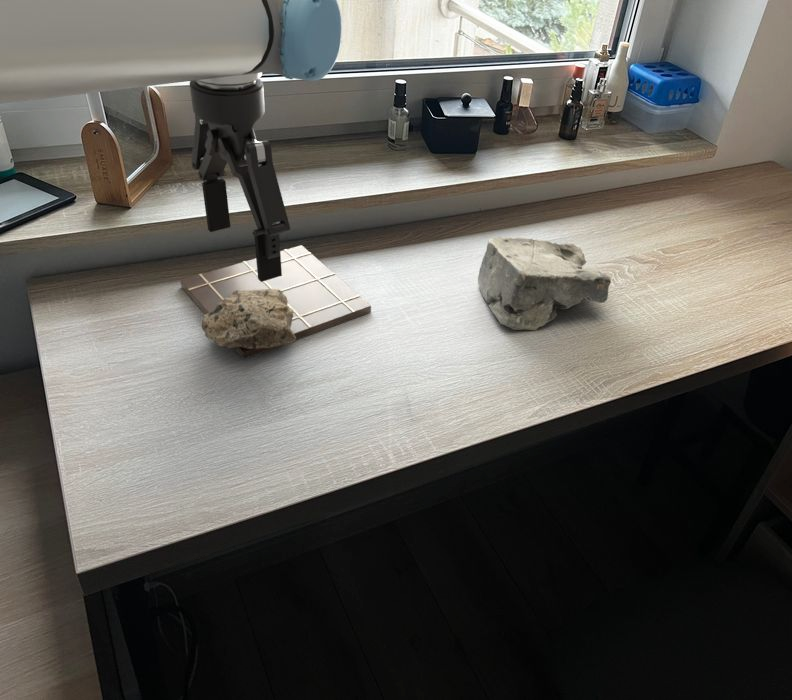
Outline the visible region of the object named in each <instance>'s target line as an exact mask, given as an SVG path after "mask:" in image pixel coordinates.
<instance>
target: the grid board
mask: <svg viewBox="0 0 792 700" xmlns="http://www.w3.org/2000/svg"><path fill="white" fill-rule="evenodd" d="M280 254H281V270H282V276H279V277H276V278H273V279H269V280H266V281H263V282H261V281H260V280H259V279H258V273H257V262H256V258H251V259H249V260H243V261H242V262H238V263H234V264H232V265H229V266H225V267H222V268H217V269H214V270H211V271H207V272H203V273H199V274H197V275H193V276H191V277H187V278H183V279H180V281H179V282H180V287H181V288H182V289H183V291H184V292H185V293H186V294H187V296H189V297H190V299H191V300H192V301H193V302H194V303H195V304H196V306H198V308H199V309H200V310H201V311H202V313H203V314H204V315H205V314H208V313H211V312H213V311H214V310H215V309H216V307H217V304H218V303H220V302H221V301H222V300H224V299H225V298H229V297H230V295H232V293H233V292H234V291H237V290H245V291H250V290H262V289H277V290H280V291H281V292H282V293H283V294H284V295H285V296H286V297H287V301H288V304H287V305H288V306H289V307H290V309H293V315H294V316H293V318H292V324H291V327H290V329H291V331H292V333H293V334H294V336H295V337H296V340H295V341H297V340H300V339H302V338H306V337H308V336H311V335H313V334H316V333H319V332H321V331H322V332H323V331H325V330H326V329H330V328H332V327H335V326H337V325H341V324H343V323H346V322H349V321H351V320H354V319H357V318H359V317H362V316H365V315H368V314H370V313H371V312H372V305H371V304H370V303H368V302H367V301H366V300H365V299H364V298H363V297H362V296H361V295H360V294H358V293H357V292H356V291H355V290H354V289H353V288H351V286H349V285H348V284H347V283H346V282H344V281H343V280H342V279H341V278H340V277H339V276H338V275H337V274H336V273H335V272H333V271H332V270H331V269H330V268H329V267H327V265H325V264H324V263H323V262H322V261H321V260H319V259H318V258H317V257H316V256H315V255H314V254H313V253H312V252H310V251H309V250H308V249H307V248H306V247H305V246H303V245H302V244H300V245H297V246H293V247H290V248H285V249H283V250H280ZM284 345H286V344H285V343H284V344H281V345H279V346H275V347H270V348H258V349H256V348H252V349H247V348H244V347H233V348H234V349H235V351H236V352H237V353H238V354H239V355H240V356H241V357H242V359H243V360H245V359H246V360H247V359H248V358H249V359H250V358H251V357H254V356H256V355H260V354H262V353H264V352H267V351H270V350H273V349H275V348H278V347H281V346H284Z"/></svg>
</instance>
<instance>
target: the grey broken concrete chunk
mask: <svg viewBox="0 0 792 700" xmlns="http://www.w3.org/2000/svg"><path fill="white" fill-rule="evenodd" d="M586 264H587V261H586V257H585V254H584V253H583V249H582V248H581V247H579V246H577V245H576V244H573V243H556V242H551V241H548V240H540V239H536V238H535V239H534V238H530V237H510V236H509V237H492V238H490V239H488V240H487V245H486V250H485V253H484V255H483V258H482V261H481V264H480V267H479V270H478V271H479V272H478V277H477V284H478V287H479V290H480V294H481V295H482V297H483V299H484V300H485V303H488V304H489V305H488V307H489V309H490V310H491V312H492V314H493V315H494V316H495V317H496V319H497V320H498V322H499V324H500V325H504V326H505V327H507V328H510V329H511V330H515V331H517V330H518V331H520V330H527V331H537V329H539V328H540V327H541V328H542V327H544V326H546V324H547V323H550V322H551V321H553V320H554V319H555V318H556V317H557V316H558V313H557V309H561V310H567V309H570V308H571V307H573V306H575V305H578V304H580V303H581V302H582V300H583V299H586V300H588V301H590V302H595V303H597V304H604V303H606V302H607V300H608V297H609V288H610V285H611V284H612V279H611V277H610V275H608V274H606V273H602V272H601V271H599V270H591V269H583V267H584V266H585V265H586Z"/></svg>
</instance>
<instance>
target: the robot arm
mask: <svg viewBox="0 0 792 700" xmlns="http://www.w3.org/2000/svg"><path fill="white" fill-rule="evenodd" d="M342 33H343V18H342V12H341V8H340V5H339V3H338V1H337V0H0V105H5V104H12V103H20V102H21V103H22V102H30V101H36V100H45V99H54V98H62V97H69V96H78V95H86V94H94V93H102V92H112V91H119V90H120V91H121V90H127V89H136V88H144V87H152V86H153V87H154V86H160V85H170V84H177V83H185V82H186V83H187V82H189V90H190V98H191V105H192V112H193V114H194V119H195V123H194V132H193V142H192V151H191V152H192V153H191V168H192V169H193V170H194V171H198V172H197V175H198V178H199V180H200V181H201V187H202V194H203V195H202V196H203V201H204V210H205V218H206V224H207V230H208V231H209V232H210V233H214V232H217V231H221V230H225V229H229V228H231V218H230V211H229V201H228V192H227V191H228V190H227V182H226V180H225V179H224V178H223V177H227V174H226V171H225V168H226V166H227V164H228V166H229V169H230V172H231V174H232V176H233V177H235V178H237V179H238V181H239V184H240V186H241V189H242V192H243V195H244V196H245V200H246V202H247V204H248V208H249V210H250V212H251V215H252V217H253V221H254V223H255V226H256V228H257V229H253V231H252V235H253V236H254V237H253V238H254V249H255V259H256V262H257V273H258V279H259V280H260V281H261V282H263V281H266V280H269V279H273V278H276V277H279V276H282V270H281V254H280V251H281V241H280V234H284V233H287V232H290V231H291V226H290V221H289V218H288V215H287V211H286V207H285V203H284V199H283V196H282V195H283V194H282V192H281V189H280V185H279V181H278V177H277V174H276V170H275V166H274V161H273V154H272V153H273V152H272V146H271V143H270V141H269V140H262V141H261V140H260V141H259V140H258V139H257V136H256V133H255V129H254V125H255V124H256V123H257V122H258V121H259V120H260V119H262V118H263V117H264V115H265V112H266V105H265V90H264V82H263V81H262V80H261V79H260V78H262V75H263V74H274V75H279V76H283V77H284V78H285V79H288V80H293V79H296V80H300V81H307V82H315V81H320V80H322V79H323V78H324V77H326V76H327V75H328V74H329V73H330V72H331V70H332V69H333V67H334V66H335V64H336V62H337V60H338V57H339V54H340V51H341V46H342V36H343V34H342ZM221 177H222V178H221Z"/></svg>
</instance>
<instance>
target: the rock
mask: <svg viewBox="0 0 792 700" xmlns="http://www.w3.org/2000/svg"><path fill="white" fill-rule="evenodd" d="M287 304H288V301H287V297H286V296H285V295H284V294H283V293H282V292H281V291H280V290H277V289H262V290H250V291H245V290H237V291H234V292H233V293H232V295H230V297H229V298H225V299H224V300H222V301H221V302H220V303H218V304H217V307H216V309H215V310H214V311H213V312H211V313H208V314H205V313H204V316H203V317H204V318H203V319H202V320H201V329H202V330H203V332H204V335H205V337H206V338H208V339H209V340H211V342H212V343H213V344H215V345H217V346H218V347H223V348H224V347H225V348H229V349H232V348H234V347H244V348H247V349H252V348H256V349H258V348H270V347H275V346H278V347H280V346H279V345H281V344H284V343H285V344H284V345H286V344H291V343H294V342H295V341H297V340H296V337H295V336H294V334H293V333H292V331H291V329H290V327H291V324H292V318H293V316H294V315H293V309H290V307H289V306H288V305H287ZM281 346H282V345H281Z"/></svg>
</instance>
